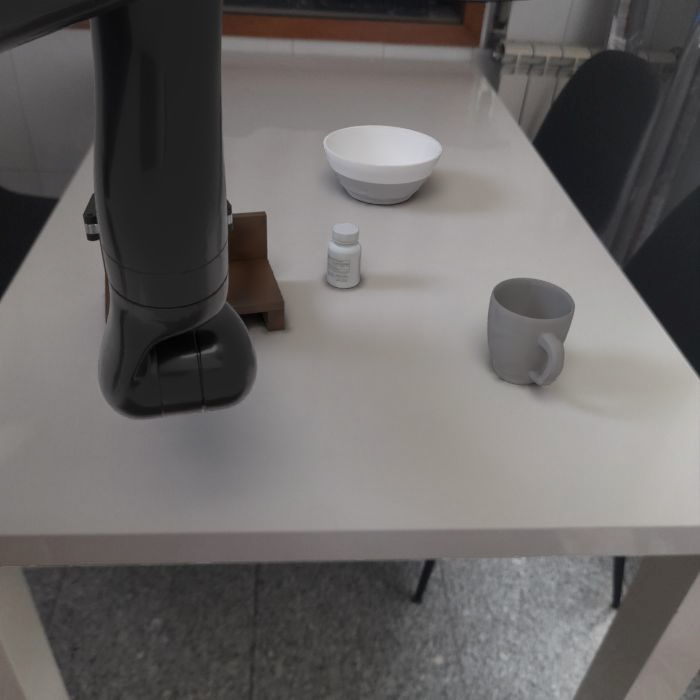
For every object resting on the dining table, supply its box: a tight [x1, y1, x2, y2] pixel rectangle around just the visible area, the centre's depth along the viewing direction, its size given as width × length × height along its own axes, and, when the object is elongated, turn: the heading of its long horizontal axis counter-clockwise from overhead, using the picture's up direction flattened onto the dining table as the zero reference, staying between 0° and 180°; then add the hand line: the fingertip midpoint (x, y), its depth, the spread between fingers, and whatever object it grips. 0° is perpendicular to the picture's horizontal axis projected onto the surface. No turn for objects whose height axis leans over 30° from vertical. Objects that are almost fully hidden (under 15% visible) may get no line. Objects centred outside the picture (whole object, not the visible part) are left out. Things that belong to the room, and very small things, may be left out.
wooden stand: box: [98, 210, 286, 332], centre depth 85 cm, size 20×12×10 cm, turn 106°
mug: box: [486, 277, 576, 386], centre depth 77 cm, size 12×9×10 cm
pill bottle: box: [326, 222, 362, 289], centre depth 94 cm, size 4×4×8 cm
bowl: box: [322, 124, 443, 205], centre depth 119 cm, size 20×20×8 cm
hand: (155, 183), depth 76 cm, fingers closed on beverage can, 6 cm apart
